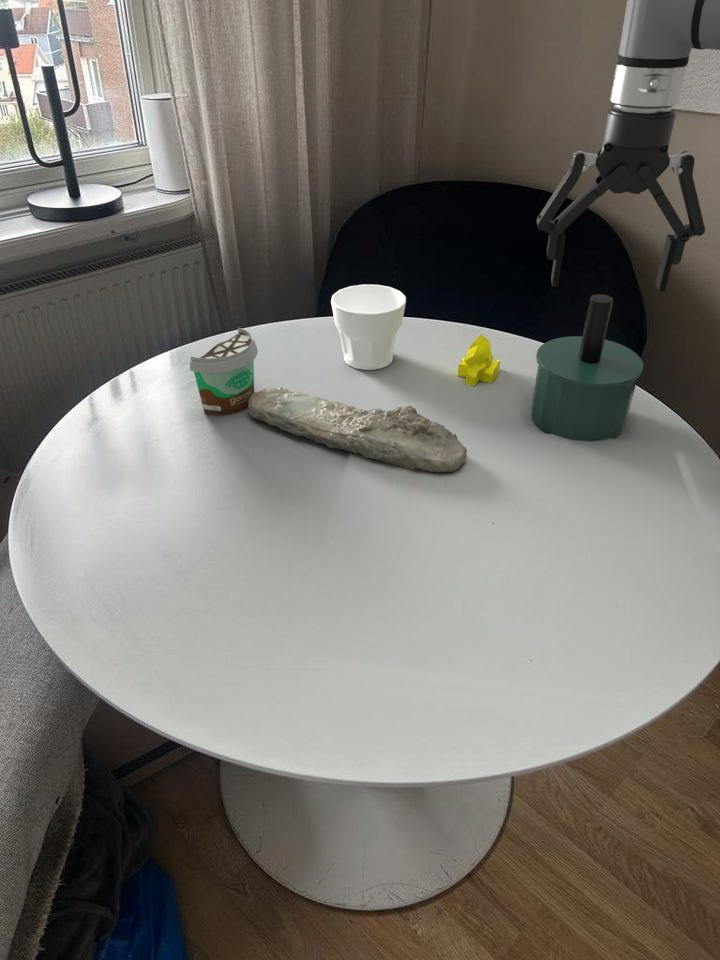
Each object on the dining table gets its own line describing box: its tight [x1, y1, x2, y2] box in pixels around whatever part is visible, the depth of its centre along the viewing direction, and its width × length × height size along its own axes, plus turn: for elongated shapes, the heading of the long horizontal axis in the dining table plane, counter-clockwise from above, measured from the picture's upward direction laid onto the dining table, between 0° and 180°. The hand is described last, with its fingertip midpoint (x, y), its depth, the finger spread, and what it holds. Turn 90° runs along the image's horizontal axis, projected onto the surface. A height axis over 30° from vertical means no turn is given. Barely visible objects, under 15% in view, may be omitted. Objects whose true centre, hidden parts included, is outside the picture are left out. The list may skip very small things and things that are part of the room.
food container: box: [189, 327, 259, 416], centre depth 108 cm, size 12×6×10 cm, turn 150°
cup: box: [330, 284, 407, 371], centre depth 119 cm, size 12×12×11 cm
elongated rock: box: [248, 387, 468, 473], centre depth 102 cm, size 35×5×10 cm
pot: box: [530, 364, 638, 442], centre depth 104 cm, size 14×14×10 cm
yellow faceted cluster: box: [457, 333, 501, 387], centre depth 116 cm, size 6×8×8 cm
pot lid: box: [535, 293, 644, 388], centre depth 98 cm, size 15×15×10 cm
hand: (606, 285), depth 94 cm, fingers open, 13 cm apart
